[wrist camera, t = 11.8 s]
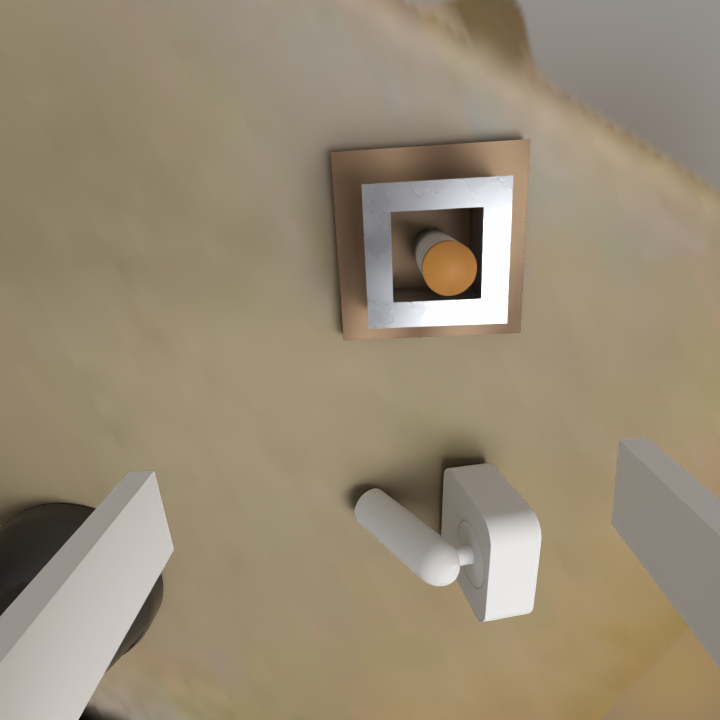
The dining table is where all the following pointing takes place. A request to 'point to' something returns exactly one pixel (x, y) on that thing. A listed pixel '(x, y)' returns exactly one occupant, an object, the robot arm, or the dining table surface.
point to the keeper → (425, 229)
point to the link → (485, 242)
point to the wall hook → (466, 540)
